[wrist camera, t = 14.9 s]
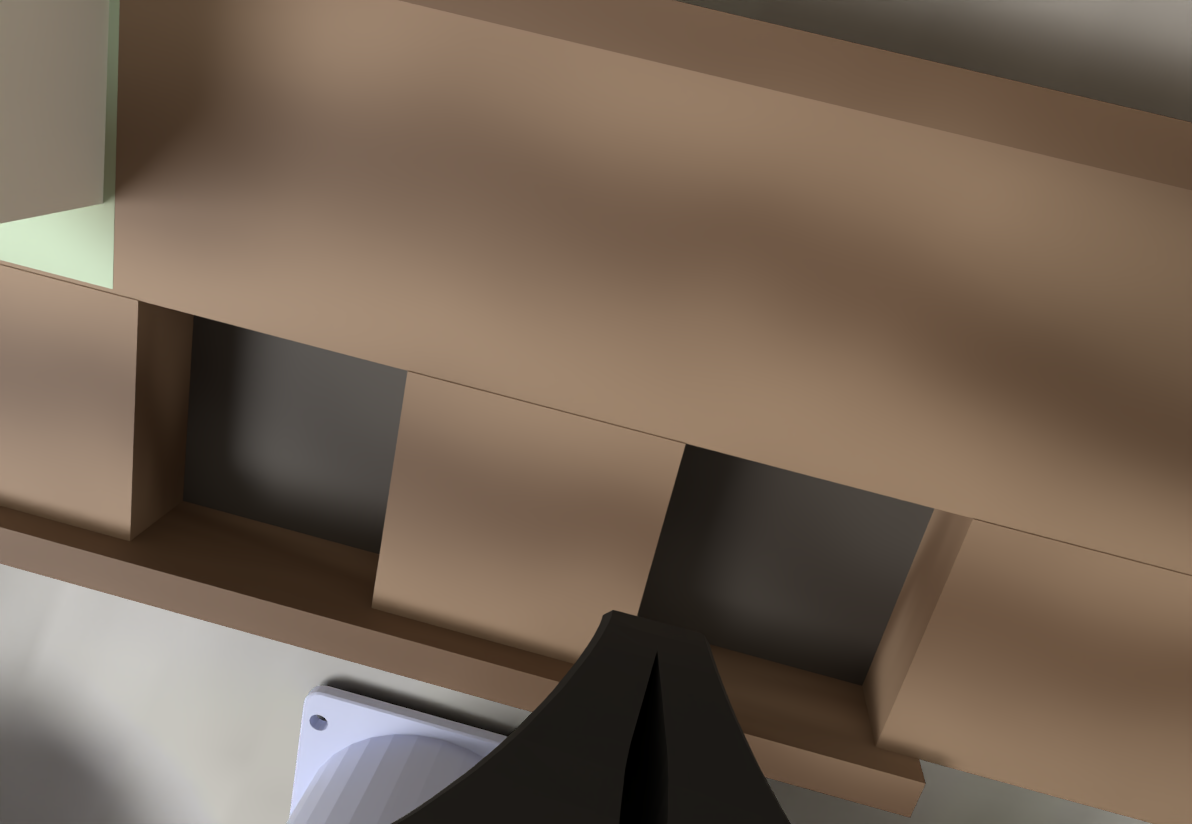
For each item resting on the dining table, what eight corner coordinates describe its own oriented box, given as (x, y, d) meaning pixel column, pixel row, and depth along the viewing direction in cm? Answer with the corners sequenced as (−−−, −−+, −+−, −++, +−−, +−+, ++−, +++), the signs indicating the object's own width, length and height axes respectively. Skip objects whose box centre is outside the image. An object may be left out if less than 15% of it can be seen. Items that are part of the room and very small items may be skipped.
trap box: (1180, 802, 23) (1247, 912, 20) (-60, 463, 24) (-169, 516, 21) (1536, 214, 17) (1703, 242, 14) (-93, -171, 19) (-246, -217, 16)
